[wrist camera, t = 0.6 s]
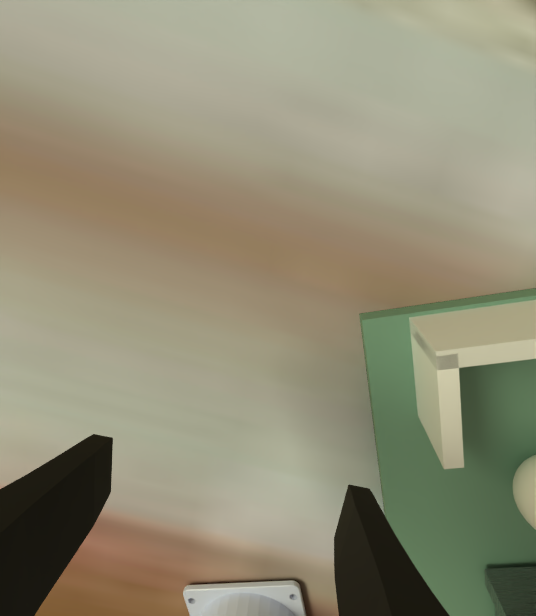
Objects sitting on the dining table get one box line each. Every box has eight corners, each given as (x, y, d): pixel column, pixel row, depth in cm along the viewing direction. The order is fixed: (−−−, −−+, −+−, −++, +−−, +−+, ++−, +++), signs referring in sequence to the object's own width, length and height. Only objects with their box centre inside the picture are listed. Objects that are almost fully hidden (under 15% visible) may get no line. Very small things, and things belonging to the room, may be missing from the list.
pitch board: (663, 660, 24) (677, 679, 24) (403, 663, 27) (407, 681, 26) (720, 261, 17) (744, 265, 16) (359, 313, 20) (361, 320, 19)
